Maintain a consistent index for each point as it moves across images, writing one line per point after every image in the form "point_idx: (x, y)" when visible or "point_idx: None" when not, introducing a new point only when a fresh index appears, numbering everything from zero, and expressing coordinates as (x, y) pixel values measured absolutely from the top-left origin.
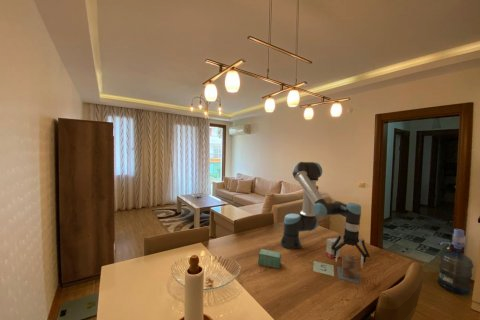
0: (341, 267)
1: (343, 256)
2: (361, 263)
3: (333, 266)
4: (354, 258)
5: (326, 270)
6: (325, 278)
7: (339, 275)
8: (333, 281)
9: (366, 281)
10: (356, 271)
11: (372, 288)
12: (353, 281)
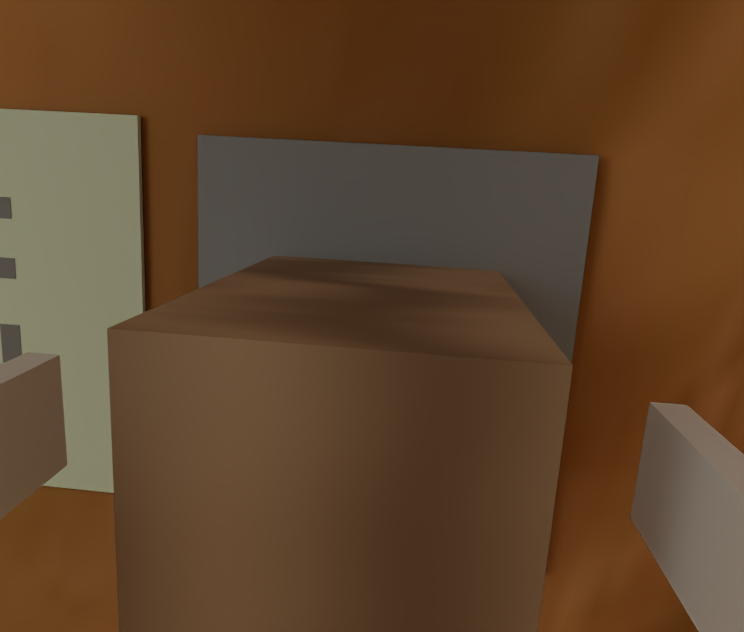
0: (281, 151)
1: (127, 496)
2: (681, 582)
3: (137, 166)
4: (497, 516)
5: None
6: (33, 585)
7: None
8: None
9: None
10: (558, 192)
11: (684, 616)
12: None
